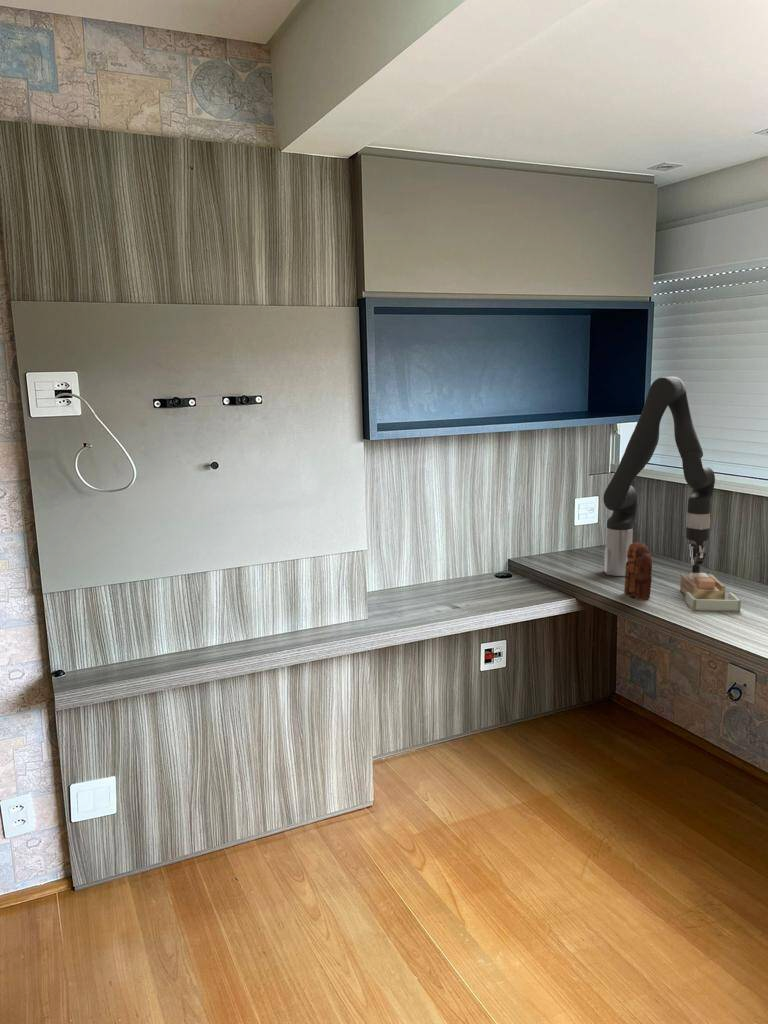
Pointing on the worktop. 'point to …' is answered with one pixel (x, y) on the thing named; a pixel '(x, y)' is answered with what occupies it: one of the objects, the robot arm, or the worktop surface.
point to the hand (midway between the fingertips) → (695, 575)
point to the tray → (713, 604)
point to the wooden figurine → (638, 571)
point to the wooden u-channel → (707, 594)
